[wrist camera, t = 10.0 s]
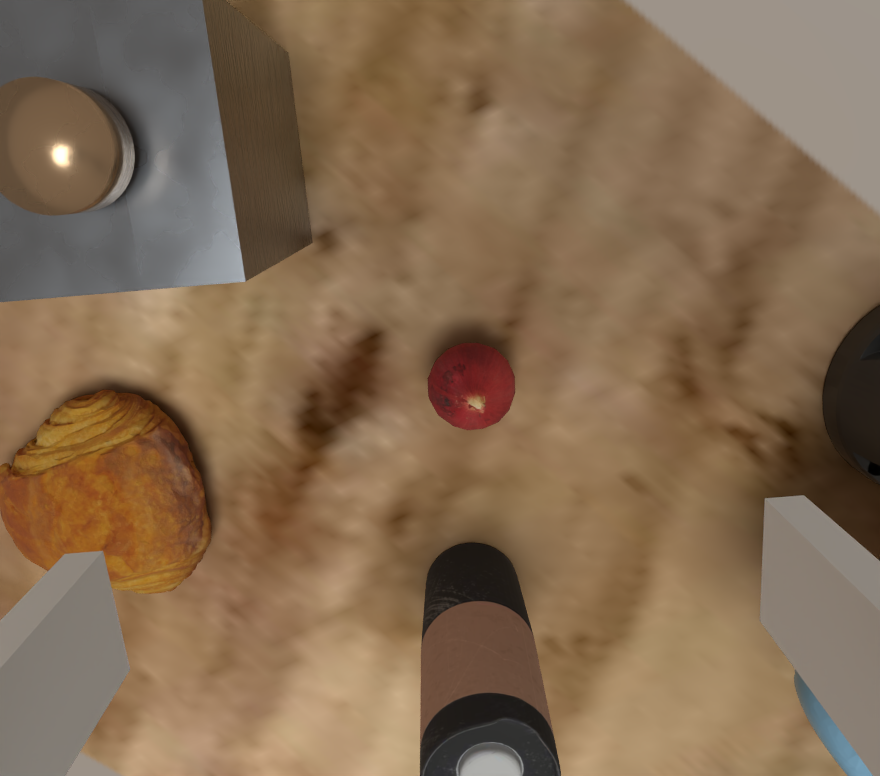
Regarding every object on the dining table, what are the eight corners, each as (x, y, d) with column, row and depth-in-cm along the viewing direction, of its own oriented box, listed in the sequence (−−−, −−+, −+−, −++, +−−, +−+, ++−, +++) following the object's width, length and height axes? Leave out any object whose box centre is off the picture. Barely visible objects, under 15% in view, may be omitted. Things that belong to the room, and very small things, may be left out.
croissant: (201, 372, 56) (164, 386, 48) (236, 570, 58) (206, 615, 50) (9, 397, 56) (-60, 415, 48) (51, 594, 58) (-9, 643, 50)
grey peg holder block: (288, 52, 48) (198, -22, 30) (312, 242, 51) (245, 281, 33) (101, 69, 48) (-102, 5, 30) (138, 257, 51) (-25, 304, 33)
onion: (431, 412, 55) (430, 451, 47) (425, 335, 53) (424, 362, 45) (510, 407, 55) (523, 446, 47) (508, 330, 53) (520, 356, 45)
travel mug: (445, 639, 60) (451, 859, 41) (407, 560, 58) (394, 752, 39) (534, 605, 59) (584, 814, 40) (499, 524, 57) (533, 702, 38)
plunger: (261, 78, 47) (136, 9, 27) (281, 222, 49) (179, 255, 29) (121, 91, 47) (-104, 31, 27) (148, 233, 49) (-42, 273, 30)
